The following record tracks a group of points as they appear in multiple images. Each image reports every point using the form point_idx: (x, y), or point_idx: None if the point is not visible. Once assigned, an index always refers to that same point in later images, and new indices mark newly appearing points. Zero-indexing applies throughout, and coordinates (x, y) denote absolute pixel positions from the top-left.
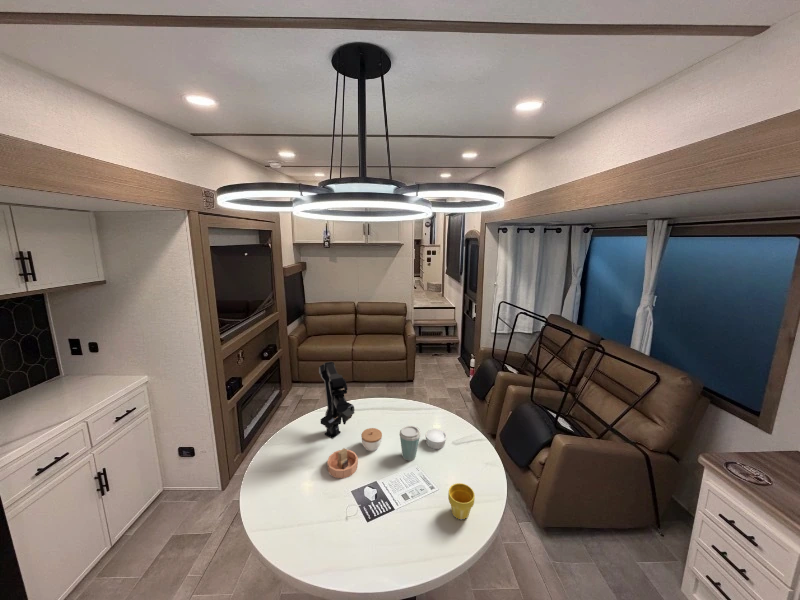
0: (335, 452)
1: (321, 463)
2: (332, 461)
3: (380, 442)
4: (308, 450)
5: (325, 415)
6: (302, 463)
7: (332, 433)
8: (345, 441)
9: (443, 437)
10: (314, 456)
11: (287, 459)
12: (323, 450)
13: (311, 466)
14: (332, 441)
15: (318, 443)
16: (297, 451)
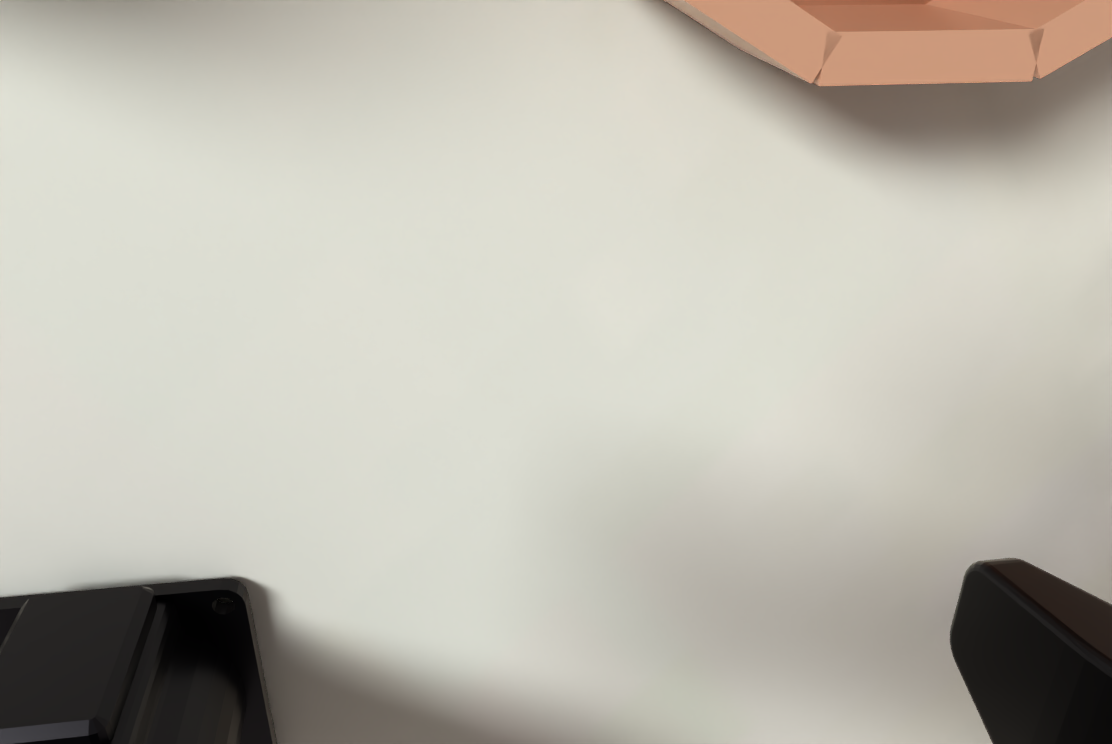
0: (826, 43)
1: (969, 202)
2: (875, 5)
3: None
4: (775, 637)
5: None
6: (1083, 476)
7: (1028, 571)
8: (83, 296)
9: None
10: (856, 455)
11: None
12: (637, 453)
13: (1103, 299)
14: (313, 517)
15: (537, 655)
16: (872, 727)
